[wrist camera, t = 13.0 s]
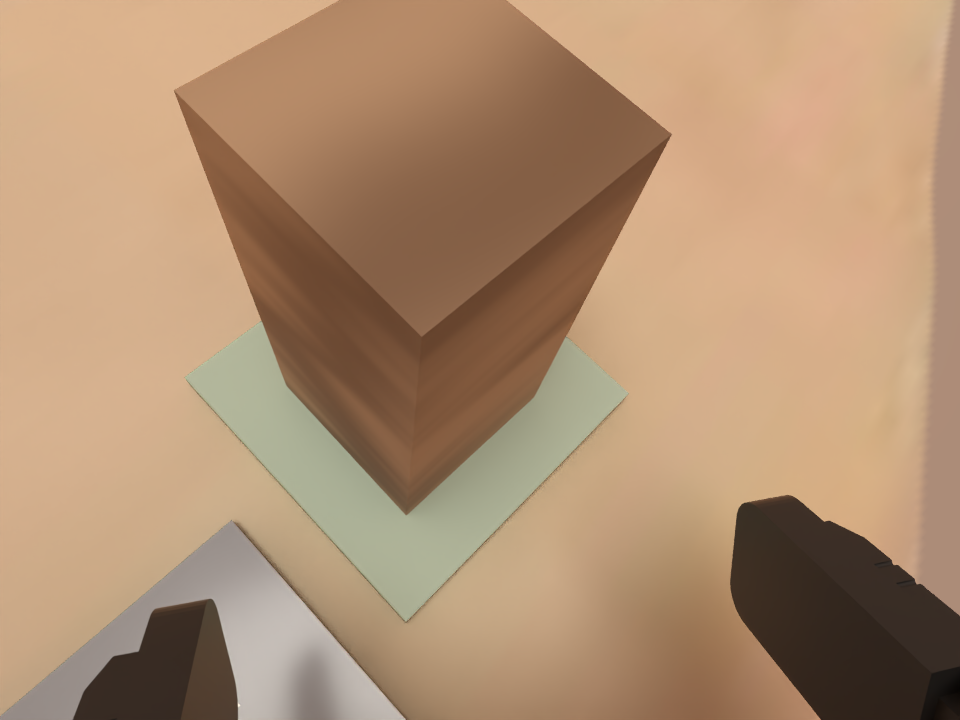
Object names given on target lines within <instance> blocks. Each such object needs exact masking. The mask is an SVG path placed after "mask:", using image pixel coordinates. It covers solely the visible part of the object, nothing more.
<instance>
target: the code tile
mask: <svg viewBox="0 0 960 720" xmlns="http://www.w3.org/2000/svg"><path fill="white" fill-rule="evenodd" d="M205 599H213V601H214V602H215V604H216V607H217V610H218V614H219V618H220V622H221V626H222V630H223V634H224V638H225V642H226V646H227V650H228V654H229V658H230V662H231V666H232V670H233V674H234V678H235V683H236V689H237V699H238V720H406V719H405V718H404V716H403V715H402V714H401V713H400V712H399V711H398V710H397V708H396V707H395V706H394V705H393V704H392V703H391V701H390V700H389V699H388V698H387V697H386V696H385V695H384V693H383V692H382V691H381V690H380V689H379V688H378V687H377V685H376V684H375V683H374V682H373V681H372V680H371V679H370V677H369V676H368V675H367V674H366V673H365V672H364V671H363V669H362V668H361V667H360V666H359V665H358V664H357V663H356V661H355V660H354V659H353V658H352V657H351V656H350V655H349V653H348V652H347V651H346V650H345V649H344V648H343V647H342V645H341V644H340V643H339V642H338V641H337V640H336V639H335V637H334V636H333V635H332V634H331V633H330V632H329V630H328V629H327V628H326V627H325V626H324V625H323V624H322V622H321V621H320V620H319V619H318V618H317V617H316V616H315V614H314V613H313V612H312V611H311V610H310V609H309V608H308V606H307V605H306V604H305V603H304V602H303V601H302V600H301V598H300V597H299V596H298V595H297V594H296V593H295V592H294V590H293V589H292V588H291V587H290V586H289V585H288V584H287V582H286V581H285V580H284V579H283V578H282V577H281V576H280V574H279V573H278V572H277V571H276V570H275V569H274V567H273V566H272V565H271V564H270V563H269V562H268V561H267V559H266V558H265V557H264V556H263V555H262V554H261V553H260V551H259V550H258V549H257V548H256V547H255V546H254V545H253V543H252V542H251V541H250V540H249V539H248V538H247V537H246V535H245V534H244V533H243V532H242V531H241V530H240V529H239V527H238V526H237V525H236V524H235V523H234V522H233V521H232V520H231V521H230V522H229V523H228V524H226V525H225V526H224V527H223V528H222V529H220V530H219V531H218V532H217V533H216V534H215V535H213V536H212V537H211V538H210V539H209V540H207V541H206V542H205V543H204V544H203V545H202V546H200V547H199V548H198V549H197V550H196V551H195V552H193V553H192V554H191V555H190V556H189V557H187V558H186V559H185V560H184V561H183V562H182V563H180V564H179V565H178V566H177V567H176V568H174V569H173V570H172V571H171V572H170V573H169V574H167V575H166V576H165V577H164V578H163V579H162V580H160V581H159V582H158V583H157V584H156V585H154V586H153V587H152V588H151V589H150V590H149V591H147V592H146V593H145V594H144V595H143V596H141V597H140V598H139V599H138V600H137V601H136V602H134V603H133V604H132V605H131V606H130V607H129V608H127V609H126V610H125V611H124V612H123V613H121V614H120V615H119V616H118V617H117V618H116V619H114V620H113V621H112V622H111V623H110V624H108V625H107V626H106V627H105V628H104V629H103V630H101V631H100V632H99V633H98V634H97V635H95V636H94V637H93V638H92V639H91V640H90V641H88V642H87V643H86V644H85V645H84V646H83V647H81V648H80V649H79V650H78V651H77V652H75V653H74V654H73V655H72V656H71V657H70V658H68V659H67V660H66V661H65V662H64V663H62V664H61V665H60V666H59V667H58V668H57V669H55V670H54V671H53V672H52V673H51V674H50V675H48V676H47V677H46V678H45V679H44V680H42V681H41V682H40V683H39V684H38V685H37V686H35V687H34V688H33V689H32V690H31V691H29V692H28V693H27V694H26V695H25V696H24V697H22V698H21V699H20V700H19V701H18V702H17V703H15V704H14V705H13V706H12V707H11V708H9V709H8V710H7V711H6V712H5V713H4V714H2V715H1V716H0V720H73V717H74V715H75V712H76V710H77V707H78V705H79V702H80V700H81V697H82V694H83V692H84V690H85V689H86V688H87V687H88V685H89V684H90V683H91V682H92V681H93V679H94V678H95V677H96V676H97V675H98V674H99V672H100V671H101V670H102V669H103V668H104V666H105V665H106V664H107V663H108V662H109V661H110V659H111V658H112V657H113V656H117V655H122V654H127V653H133V652H138V651H139V649H140V646H141V643H142V639H143V636H144V633H145V630H146V627H147V624H148V621H149V618H150V615H151V613H152V611H153V610H154V609H156V608H161V607H167V606H172V605H178V604H183V603H189V602H194V601H200V600H205Z"/></svg>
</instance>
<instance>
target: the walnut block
mask: <svg viewBox="0 0 960 720" xmlns="http://www.w3.org/2000/svg"><path fill="white" fill-rule="evenodd" d="M174 92H175V94H176V97H177V100H178V102H179V105H180V108H181V110H182V113H183V115H184V118H185V121H186V123H187V126H188V129H189V131H190V134H191V136H192V139H193V142H194V144H195V147H196V150H197V152H198V155H199V157H200V160H201V163H202V165H203V168H204V171H205V173H206V176H207V179H208V181H209V184H210V186H211V189H212V192H213V194H214V197H215V200H216V202H217V205H218V207H219V210H220V213H221V215H222V218H223V221H224V223H225V226H226V228H227V231H228V234H229V236H230V239H231V242H232V244H233V247H234V249H235V252H236V255H237V257H238V260H239V263H240V265H241V268H242V270H243V273H244V276H245V278H246V281H247V284H248V286H249V289H250V292H251V294H252V297H253V299H254V302H255V305H256V307H257V310H258V313H259V315H260V318H261V320H262V323H263V326H264V328H265V331H266V334H267V336H268V339H269V341H270V344H271V347H272V349H273V352H274V355H275V357H276V360H277V362H278V365H279V368H280V370H281V373H282V376H283V378H284V381H285V384H286V386H287V387H288V388H289V389H290V390H291V391H292V392H293V393H294V395H295V396H296V397H297V398H298V399H299V400H300V401H301V402H302V403H303V404H304V405H305V406H306V408H307V409H308V410H309V411H310V412H311V413H312V414H313V415H314V416H315V417H316V418H317V419H318V421H319V422H320V423H321V424H322V425H323V426H324V427H325V428H326V429H327V430H328V431H329V432H330V434H331V435H332V436H333V437H334V438H335V439H336V440H337V441H338V442H339V443H340V444H341V446H342V447H343V448H344V449H345V450H346V451H347V452H348V453H349V454H350V455H351V456H352V457H353V459H354V460H355V461H356V462H357V463H358V464H359V465H360V466H361V467H362V468H363V469H364V470H365V472H366V473H367V474H368V475H369V476H370V477H371V478H372V479H373V480H374V481H375V482H376V483H377V485H378V486H379V487H380V488H381V489H382V490H383V491H384V492H385V493H386V494H387V495H388V496H389V498H390V499H391V500H392V501H393V502H394V503H395V504H396V505H397V506H398V507H399V508H400V509H401V511H402V512H403V513H404V514H405V515H408V514H409V513H410V512H411V511H412V510H413V509H414V508H415V507H416V506H417V505H418V504H419V503H420V502H422V501H423V500H424V499H425V498H426V497H427V496H428V495H429V494H430V493H431V492H432V491H433V490H435V489H436V488H437V487H438V486H439V485H440V484H441V483H442V482H443V481H444V480H445V479H446V478H447V477H449V476H450V475H451V474H452V473H453V472H454V471H455V470H456V469H457V468H458V467H459V466H460V465H462V464H463V463H464V462H465V461H466V460H467V459H468V458H469V457H470V456H471V455H472V454H473V453H474V452H476V451H477V450H478V449H479V448H480V447H481V446H482V445H483V444H484V443H485V442H486V441H487V440H489V439H490V438H491V437H492V436H493V435H494V434H495V433H496V432H497V431H498V430H499V429H500V428H501V427H503V426H504V425H505V424H506V423H507V422H508V421H509V420H510V419H511V418H512V417H513V416H514V415H516V414H517V413H518V412H519V411H520V410H521V409H522V408H523V407H524V406H525V405H526V404H527V403H528V402H530V401H531V400H532V399H533V398H534V396H535V394H536V393H537V391H538V389H539V387H540V385H541V383H542V381H543V379H544V377H545V375H546V373H547V372H548V370H549V368H550V366H551V364H552V362H553V360H554V358H555V356H556V354H557V352H558V351H559V349H560V347H561V345H562V343H563V341H564V339H565V337H566V335H567V333H568V331H569V330H570V328H571V326H572V324H573V322H574V320H575V318H576V316H577V314H578V312H579V310H580V309H581V307H582V305H583V303H584V301H585V299H586V297H587V295H588V293H589V291H590V289H591V288H592V286H593V284H594V282H595V280H596V278H597V276H598V274H599V272H600V270H601V268H602V267H603V265H604V263H605V261H606V259H607V257H608V255H609V253H610V251H611V249H612V247H613V246H614V244H615V242H616V240H617V238H618V236H619V234H620V232H621V230H622V228H623V226H624V225H625V223H626V221H627V219H628V217H629V215H630V213H631V211H632V209H633V207H634V205H635V203H636V202H637V200H638V198H639V196H640V194H641V192H642V190H643V188H644V186H645V184H646V182H647V181H648V179H649V177H650V175H651V173H652V171H653V169H654V167H655V165H656V163H657V161H658V160H659V158H660V156H661V154H662V152H663V150H664V148H665V146H666V144H667V142H668V140H669V139H670V137H671V135H672V134H671V133H669V132H668V131H667V130H666V129H665V128H663V127H662V126H661V125H660V124H658V123H657V122H656V121H655V120H653V119H652V118H651V117H650V116H648V115H647V114H646V113H645V112H644V111H642V110H641V109H640V108H639V107H637V106H636V105H635V104H634V103H632V102H631V101H630V100H629V99H627V98H626V97H625V96H624V95H623V94H621V93H620V92H619V91H618V90H616V89H615V88H614V87H613V86H611V85H610V84H609V83H608V82H607V81H605V80H604V79H603V78H602V77H600V76H599V75H598V74H597V73H595V72H594V71H593V70H592V69H590V68H589V67H588V66H587V65H586V64H584V63H583V62H582V61H581V60H579V59H578V58H577V57H576V56H574V55H573V54H572V53H571V52H569V51H568V50H567V49H566V48H565V47H563V46H562V45H561V44H560V43H558V42H557V41H556V40H555V39H553V38H552V37H551V36H550V35H548V34H547V33H546V32H545V31H544V30H542V29H541V28H540V27H539V26H537V25H536V24H535V23H534V22H532V21H531V20H530V19H529V18H527V17H526V16H525V15H524V14H523V13H521V12H520V11H519V10H518V9H516V8H515V7H514V6H513V5H511V4H510V3H509V2H508V1H507V0H339V1H338V2H336V3H334V4H332V5H330V6H328V7H326V8H325V9H323V10H321V11H319V12H317V13H315V14H314V15H312V16H310V17H308V18H306V19H304V20H303V21H301V22H299V23H297V24H295V25H293V26H291V27H290V28H288V29H286V30H284V31H282V32H280V33H279V34H277V35H275V36H273V37H271V38H269V39H268V40H266V41H264V42H262V43H260V44H258V45H256V46H255V47H253V48H251V49H249V50H247V51H245V52H244V53H242V54H240V55H238V56H236V57H234V58H233V59H231V60H229V61H227V62H225V63H223V64H222V65H220V66H218V67H216V68H214V69H212V70H210V71H209V72H207V73H205V74H203V75H201V76H199V77H198V78H196V79H194V80H192V81H190V82H188V83H187V84H185V85H183V86H181V87H179V88H177V89H175V90H174Z"/></svg>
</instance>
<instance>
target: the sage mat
mask: <svg viewBox="0 0 960 720" xmlns="http://www.w3.org/2000/svg"><path fill="white" fill-rule="evenodd" d="M185 379H186V380H187V382H188V383H189V384H190V385H191V387H192V388H193V389H194V390H195V391H196V392H197V393H198V394H199V395H200V396H201V398H202V399H203V400H204V401H205V402H206V403H207V404H208V405H209V406H210V407H211V409H212V410H213V411H214V412H215V413H216V414H217V415H218V416H219V417H220V419H221V420H222V421H223V422H224V423H225V424H226V425H227V426H228V427H229V428H230V430H231V431H232V432H233V433H234V434H235V435H236V436H237V437H238V438H239V439H240V441H241V442H242V443H243V444H244V445H245V446H246V447H247V448H248V449H249V450H250V452H251V453H252V454H253V455H254V456H255V457H256V458H257V459H258V460H259V462H260V463H261V464H262V465H263V466H264V467H265V468H266V469H267V470H268V471H269V473H270V474H271V475H272V476H273V477H274V478H275V479H276V480H277V481H278V482H279V484H280V485H281V486H282V487H283V488H284V489H285V490H286V491H287V492H288V493H289V495H290V496H291V497H292V498H293V499H294V500H295V501H296V502H297V503H298V505H299V506H300V507H301V508H302V509H303V510H304V511H305V512H306V513H307V514H308V516H309V517H310V518H311V519H312V520H313V521H314V522H315V523H316V524H317V525H318V527H319V528H320V529H321V530H322V531H323V532H324V533H325V534H326V535H327V536H328V538H329V539H330V540H331V541H332V542H333V543H334V544H335V545H336V546H337V548H338V549H339V550H340V551H341V552H342V553H343V554H344V555H345V556H346V557H347V559H348V560H349V561H350V562H351V563H352V564H353V565H354V566H355V567H356V568H357V570H358V571H359V572H360V573H361V574H362V575H363V576H364V577H365V578H366V580H367V581H368V582H369V583H370V584H371V585H372V586H373V587H374V588H375V589H376V591H377V592H378V593H379V594H380V595H381V596H382V597H383V598H384V599H385V600H386V602H387V603H388V604H389V605H390V606H391V607H392V608H393V609H394V610H395V611H396V613H397V614H398V615H399V616H400V617H401V618H402V619H403V620H404V621H405V623H406V622H407V621H408V620H409V619H410V618H411V617H412V616H413V615H414V614H415V613H416V612H417V611H418V610H419V609H420V608H421V607H422V606H423V605H424V604H425V603H426V602H427V601H428V600H429V599H430V598H431V597H432V596H433V594H434V593H435V592H436V591H437V590H438V589H439V588H440V587H441V586H442V585H443V584H444V583H445V582H446V581H447V580H448V579H449V578H450V577H451V576H452V575H453V574H454V573H455V572H456V571H457V570H458V569H459V568H460V567H461V566H462V565H463V564H464V563H465V562H466V561H467V560H468V559H469V558H470V557H471V556H472V554H473V553H474V552H475V551H476V550H477V549H478V548H479V547H480V546H481V545H482V544H483V543H484V542H485V541H486V540H487V539H488V538H489V537H490V536H491V535H492V534H493V533H494V532H495V531H496V530H497V529H498V528H499V527H500V526H501V525H502V524H503V523H504V522H505V521H506V520H507V519H508V518H509V517H510V515H511V514H512V513H513V512H514V511H515V510H516V509H517V508H518V507H519V506H520V505H521V504H522V503H523V502H524V501H525V500H526V499H527V498H528V497H529V496H530V495H531V494H532V493H533V492H534V491H535V490H536V489H537V488H538V487H539V486H540V485H541V484H542V483H543V482H544V481H545V480H546V479H547V478H548V477H549V475H550V474H551V473H552V472H553V471H554V470H555V469H556V468H557V467H558V466H559V465H560V464H561V463H562V462H563V461H564V460H565V459H566V458H567V457H568V456H569V455H570V454H571V453H572V452H573V451H574V450H575V449H576V448H577V447H578V446H579V445H580V444H581V443H582V442H583V441H584V440H585V439H586V438H587V437H588V435H589V434H590V433H591V432H592V431H593V430H594V429H595V428H596V427H597V426H598V425H599V424H600V423H601V422H602V421H603V420H604V419H605V418H606V417H607V416H608V415H609V414H610V413H611V412H612V411H613V410H614V409H615V408H616V407H617V406H618V405H619V404H620V403H621V402H622V401H623V400H624V398H625V397H626V396H627V395H628V394H629V393H628V392H627V391H626V390H625V389H623V388H622V387H621V386H620V385H619V384H618V383H617V382H616V381H615V380H614V379H612V378H611V377H610V376H609V375H608V374H607V373H606V372H605V371H604V370H603V369H602V368H600V367H599V366H598V365H597V364H596V363H595V362H594V361H593V360H592V359H591V358H589V357H588V356H587V355H586V354H585V353H584V352H583V351H582V350H581V349H580V348H578V347H577V346H576V345H575V344H574V343H573V342H572V341H571V340H570V339H569V338H567V337H565V339H564V341H563V343H562V345H561V347H560V349H559V351H558V352H557V354H556V356H555V358H554V360H553V362H552V364H551V366H550V368H549V370H548V372H547V373H546V375H545V377H544V379H543V381H542V383H541V385H540V387H539V389H538V391H537V393H536V394H535V396H534V398H533V399H532V400H531V401H530V402H528V403H527V404H526V405H525V406H524V407H523V408H522V409H521V410H520V411H519V412H518V413H517V414H516V415H514V416H513V417H512V418H511V419H510V420H509V421H508V422H507V423H506V424H505V425H504V426H503V427H501V428H500V429H499V430H498V431H497V432H496V433H495V434H494V435H493V436H492V437H491V438H490V439H489V440H487V441H486V442H485V443H484V444H483V445H482V446H481V447H480V448H479V449H478V450H477V451H476V452H474V453H473V454H472V455H471V456H470V457H469V458H468V459H467V460H466V461H465V462H464V463H463V464H462V465H460V466H459V467H458V468H457V469H456V470H455V471H454V472H453V473H452V474H451V475H450V476H449V477H447V478H446V479H445V480H444V481H443V482H442V483H441V484H440V485H439V486H438V487H437V488H436V489H435V490H433V491H432V492H431V493H430V494H429V495H428V496H427V497H426V498H425V499H424V500H423V501H422V502H420V503H419V504H418V505H417V506H416V507H415V508H414V509H413V510H412V511H411V512H410V513H409V514H408V515H405V514H404V513H403V512H402V511H401V509H400V508H399V507H398V506H397V505H396V504H395V503H394V502H393V501H392V500H391V499H390V498H389V496H388V495H387V494H386V493H385V492H384V491H383V490H382V489H381V488H380V487H379V486H378V485H377V483H376V482H375V481H374V480H373V479H372V478H371V477H370V476H369V475H368V474H367V473H366V472H365V470H364V469H363V468H362V467H361V466H360V465H359V464H358V463H357V462H356V461H355V460H354V459H353V457H352V456H351V455H350V454H349V453H348V452H347V451H346V450H345V449H344V448H343V447H342V446H341V444H340V443H339V442H338V441H337V440H336V439H335V438H334V437H333V436H332V435H331V434H330V432H329V431H328V430H327V429H326V428H325V427H324V426H323V425H322V424H321V423H320V422H319V421H318V419H317V418H316V417H315V416H314V415H313V414H312V413H311V412H310V411H309V410H308V409H307V408H306V406H305V405H304V404H303V403H302V402H301V401H300V400H299V399H298V398H297V397H296V396H295V395H294V393H293V392H292V391H291V390H290V389H289V388H288V387H287V386H286V384H285V381H284V378H283V376H282V373H281V370H280V368H279V365H278V362H277V360H276V357H275V355H274V352H273V349H272V347H271V344H270V341H269V339H268V336H267V334H266V331H265V328H264V326H263V323H262V321H260V322H259V323H258V324H256V325H255V326H254V327H252V328H251V329H250V330H248V331H247V332H245V333H244V334H243V335H241V336H240V337H239V338H237V339H236V340H235V341H233V342H232V343H230V344H229V345H228V346H226V347H225V348H224V349H222V350H221V351H220V352H218V353H217V354H216V355H214V356H213V357H211V358H210V359H209V360H207V361H206V362H205V363H203V364H202V365H201V366H199V367H198V368H197V369H195V370H194V371H192V372H191V373H190V374H188V375H187V376H186V377H185Z"/></svg>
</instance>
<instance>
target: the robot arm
mask: <svg viewBox="0 0 960 720" xmlns="http://www.w3.org/2000/svg"><path fill="white" fill-rule="evenodd" d="M730 585H731V593H732V598H733V601H734V604H735V607H736V609H737V612H738V614H739V616H740V617H741V619H742V621H743V622H744V623H745V625H746V626H747V627H748V628H749V630H750V631H751V632H752V633H753V635H754V636H755V637H756V638H757V640H758V641H759V642H760V643H761V645H762V646H763V647H764V649H765V650H766V651H767V652H768V654H769V655H770V656H771V657H772V659H773V660H774V661H775V662H776V664H777V665H778V666H779V667H780V669H781V670H782V671H783V672H784V674H785V675H786V676H787V677H788V679H789V680H790V681H791V682H792V684H793V685H794V686H795V687H796V689H797V690H798V691H799V692H800V694H801V695H802V696H803V697H804V699H805V700H806V701H807V702H808V704H809V705H810V706H811V707H812V709H813V710H814V711H815V712H816V714H817V715H818V716H819V717H820V719H821V720H960V616H959V615H958V614H957V613H955V612H954V611H953V610H952V609H951V608H949V607H948V606H947V605H946V604H944V603H943V602H942V601H941V600H940V599H938V598H937V597H936V596H935V595H934V594H932V593H931V592H930V591H929V590H927V589H926V588H925V587H924V586H923V585H921V584H918V585H917V584H916V583H915V579H914V578H913V577H912V576H910V575H909V574H908V573H907V572H906V571H904V570H903V569H902V568H901V567H899V566H898V565H893V564H892V560H891V559H890V558H889V557H887V556H886V555H885V554H884V553H882V552H881V551H880V550H879V549H878V548H876V547H875V546H874V545H873V544H871V543H870V542H869V541H868V540H867V539H865V538H864V537H862V536H860V535H858V534H856V533H854V532H852V531H850V530H847V529H845V528H843V527H841V526H839V525H837V524H835V523H833V522H831V521H825V522H824V521H823V520H821V519H820V518H819V517H818V516H817V515H816V514H814V513H813V512H812V511H811V510H810V509H809V508H807V507H806V506H805V505H804V504H803V503H802V502H800V501H799V500H798V499H796V498H795V497H793V496H790V495H785V496H779V497H774V498H768V499H763V500H757V501H752V502H747V503H744V504H742V505H741V506H740V508H739V509H738V512H737V518H736V529H735V539H734V549H733V559H732V569H731V580H730ZM73 720H238V699H237V689H236V683H235V678H234V674H233V670H232V666H231V662H230V658H229V654H228V650H227V646H226V642H225V638H224V634H223V630H222V626H221V622H220V618H219V614H218V610H217V607H216V604H215V602H214V601H213V599H205V600H200V601H194V602H189V603H183V604H178V605H172V606H167V607H161V608H156V609H154V610H153V611H152V613H151V615H150V618H149V621H148V624H147V627H146V630H145V633H144V636H143V639H142V643H141V646H140V649H139V651H138V652H133V653H127V654H122V655H117V656H113V657H112V658H111V659H110V661H109V662H108V663H107V664H106V665H105V666H104V668H103V669H102V670H101V671H100V672H99V674H98V675H97V676H96V677H95V678H94V679H93V681H92V682H91V683H90V684H89V685H88V687H87V688H86V689H85V690H84V692H83V694H82V697H81V700H80V702H79V705H78V707H77V710H76V712H75V715H74V717H73Z"/></svg>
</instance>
